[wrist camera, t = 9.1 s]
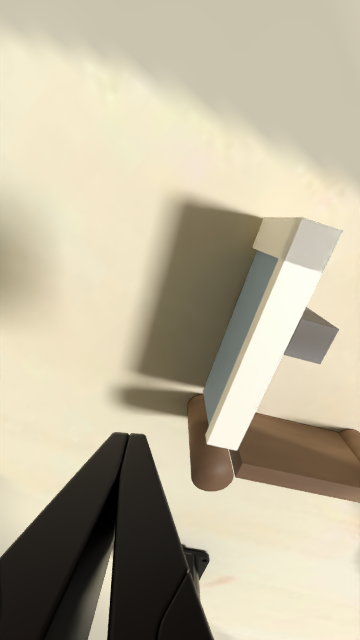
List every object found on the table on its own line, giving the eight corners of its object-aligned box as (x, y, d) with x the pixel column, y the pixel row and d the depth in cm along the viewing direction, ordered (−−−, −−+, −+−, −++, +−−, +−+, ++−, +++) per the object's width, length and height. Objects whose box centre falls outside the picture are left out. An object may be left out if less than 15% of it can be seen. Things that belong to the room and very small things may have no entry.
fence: (352, 454, 23) (409, 530, 17) (183, 415, 21) (186, 486, 16) (431, 338, 19) (536, 389, 14) (232, 281, 17) (259, 311, 12)
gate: (199, 388, 20) (206, 444, 15) (263, 217, 16) (302, 217, 11) (222, 394, 20) (236, 450, 15) (291, 226, 16) (342, 230, 11)
